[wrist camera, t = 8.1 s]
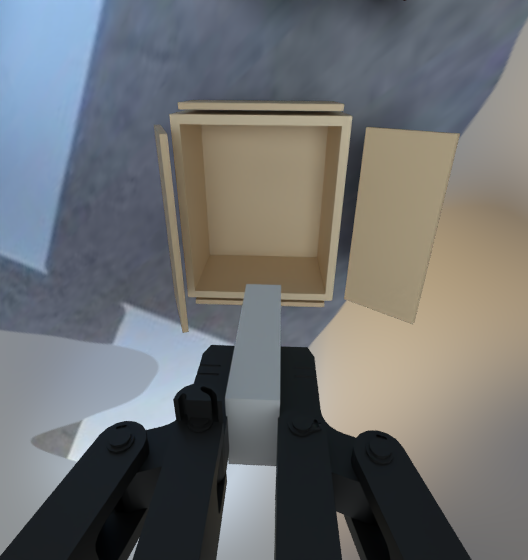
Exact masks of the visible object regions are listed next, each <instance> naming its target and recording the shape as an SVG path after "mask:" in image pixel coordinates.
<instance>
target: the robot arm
mask: <svg viewBox="0 0 528 560" xmlns="http://www.w3.org/2000/svg"><path fill="white" fill-rule="evenodd" d="M316 377H317V376H316V370H315V360H314V356H313V355H312V353H311V352H310V350H309V349H308V348H307V347H281V285H261V284H246V288H245V294H244V299H243V304H242V310H241V315H240V320H239V326H238V331H237V336H236V342H235V346H225V345H211V346H210V347H209V348H208V349H207V350H206V351H205V352H204V353H203V355H202V359H201V362H200V366H199V368H198V372H197V375H196V378H195V382H194V384H191V385H189V386H186V387H184V388H183V389H181V390H180V391H179V392H178V393H177V394H176V396H175V398H174V399H173V400H174V407H175V414H176V420H175V421H174V422H172V423H170V424H168V425H165V426H162V427H158V428H154V429H149V430H145V429H144V427H143V426H142V425H141V424H139V423H137V422H133V421H124V422H120V423H116V424H114V425H112V426H110V427H108V428H107V429H106V430H105V431H104V432H102V433H101V434H100V435H99V436H98V438H97V439H96V440H95V441H94V443H93V444H92V445H91V446H90V447H89V449H88V450H87V451H86V452H85V453H84V455H83V456H82V457H81V458H80V460H79V461H78V462H77V463H76V464H75V466H74V467H73V468H72V469H71V470H70V472H69V473H68V474H67V475H66V477H65V478H64V479H63V480H62V482H61V483H60V484H59V485H58V486H57V488H56V489H55V490H54V491H53V492H52V494H51V495H50V496H49V497H48V498H47V500H46V501H45V502H44V503H43V505H42V506H41V507H40V508H39V510H38V511H37V512H36V513H35V514H34V516H33V517H32V518H31V519H30V521H29V522H28V523H27V524H26V525H25V526H24V528H23V529H22V530H21V531H20V533H19V534H18V535H17V536H16V538H15V539H14V540H13V541H12V543H11V544H10V545H9V546H8V547H7V548H6V550H5V551H4V552H3V553H2V554H1V556H0V560H127V559H128V557H129V556H130V554H131V552H132V550H133V548H134V546H135V545H136V543H137V541H138V539H139V541H138V544H137V547H136V551H135V554H134V557H133V560H216V556H217V549H218V542H219V535H220V528H221V521H222V513H223V506H224V499H225V492H226V485H227V476H226V469H227V462H228V461H229V464H244V465H265V466H266V465H267V466H276V495H275V500H276V502H275V505H276V506H275V551H274V552H275V553H274V560H342V555H341V548H340V540H339V531H338V523H337V515H336V512H339V513H342V514H344V517H345V520H346V522H347V525H348V528H349V530H350V533H351V535H352V538H353V541H354V544H355V546H356V549H357V552H358V554H359V557H360V559H361V560H471V559H470V556H469V555H468V553H467V552H466V550H465V548H464V547H463V545H462V543H461V542H460V540H459V539H458V537H457V535H456V533H455V532H454V530H453V529H452V527H451V525H450V524H449V522H448V521H447V519H446V517H445V515H444V514H443V512H442V510H441V509H440V507H439V506H438V504H437V502H436V501H435V499H434V497H433V496H432V494H431V492H430V491H429V489H428V488H427V486H426V484H425V483H424V481H423V479H422V478H421V476H420V474H419V473H418V471H417V469H416V468H415V466H414V465H413V463H412V461H411V460H410V458H409V456H408V455H407V453H406V452H405V450H404V448H403V447H402V446H401V444H400V443H399V442H398V441H397V440H396V439H395V438H393V437H392V436H390V435H389V434H387V433H384V432H381V431H366V432H363V433H361V434H359V436H358V437H357V438H355V437H352V436H349V435H346V434H343V433H341V432H338V431H336V430H335V429H333V428H332V427H330V426H329V425H328V424H327V423H326V422H325V420H324V418H323V417H322V414H321V410H320V402H319V393H318V385H317V378H316ZM139 537H140V538H139Z"/></svg>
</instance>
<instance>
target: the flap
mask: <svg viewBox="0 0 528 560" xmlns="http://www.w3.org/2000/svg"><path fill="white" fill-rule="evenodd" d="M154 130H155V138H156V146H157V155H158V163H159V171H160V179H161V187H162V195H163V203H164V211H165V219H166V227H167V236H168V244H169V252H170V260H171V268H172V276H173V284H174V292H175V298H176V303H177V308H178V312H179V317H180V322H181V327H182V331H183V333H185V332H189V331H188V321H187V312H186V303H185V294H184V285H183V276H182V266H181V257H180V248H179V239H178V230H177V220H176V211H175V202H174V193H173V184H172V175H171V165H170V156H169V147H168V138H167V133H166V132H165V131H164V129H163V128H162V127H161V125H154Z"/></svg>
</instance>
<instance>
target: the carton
mask: <svg viewBox="0 0 528 560" xmlns="http://www.w3.org/2000/svg"><path fill="white" fill-rule="evenodd" d="M178 109H188V110H184V111H180V112H176V113H172V114H169V115H170V124H171V134H172V144H173V153H174V163H175V173H176V182H177V192H178V202H179V211H180V221H181V231H182V240H183V250H184V260H185V269H186V279H187V289H188V297H197V298H196V304H227V305H242V304H243V299H244V294H245V288H246V284H261V285H281V306H302V307H324V301H332V296H333V287H334V278H335V269H336V260H337V251H338V242H339V233H340V224H341V215H342V206H343V197H344V188H345V179H346V170H347V161H348V152H349V143H350V134H351V125H352V116H351V115H348V114H346V113H343V112H341V111H343V110H344V104H342V103H338V102H334V101H250V100H191V101H184V102H178Z"/></svg>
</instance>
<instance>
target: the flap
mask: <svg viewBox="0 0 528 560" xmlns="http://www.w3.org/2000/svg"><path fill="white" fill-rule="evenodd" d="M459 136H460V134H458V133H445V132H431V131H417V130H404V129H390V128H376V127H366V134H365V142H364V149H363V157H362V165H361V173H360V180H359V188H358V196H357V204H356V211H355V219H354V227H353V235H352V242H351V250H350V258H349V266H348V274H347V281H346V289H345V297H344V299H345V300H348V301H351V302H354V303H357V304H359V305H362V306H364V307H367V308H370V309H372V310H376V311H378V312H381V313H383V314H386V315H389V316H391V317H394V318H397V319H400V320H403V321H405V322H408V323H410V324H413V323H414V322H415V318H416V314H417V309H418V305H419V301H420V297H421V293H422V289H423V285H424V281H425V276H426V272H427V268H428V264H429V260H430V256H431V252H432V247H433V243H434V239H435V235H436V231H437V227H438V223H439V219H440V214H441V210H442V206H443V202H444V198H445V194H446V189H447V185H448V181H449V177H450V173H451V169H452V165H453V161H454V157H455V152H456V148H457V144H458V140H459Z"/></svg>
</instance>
